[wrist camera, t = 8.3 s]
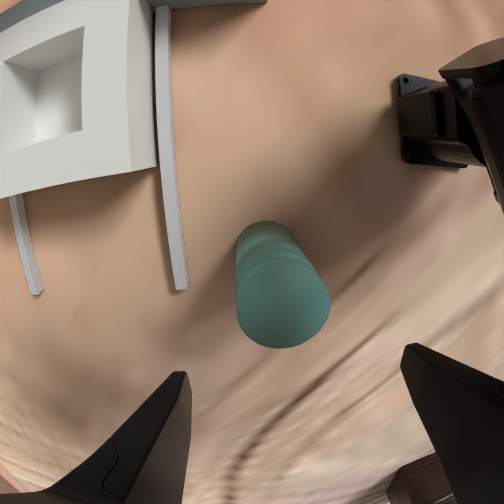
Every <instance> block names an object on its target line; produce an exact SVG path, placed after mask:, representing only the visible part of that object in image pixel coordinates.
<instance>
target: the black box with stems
mask: <svg viewBox="0 0 504 504" xmlns="http://www.w3.org/2000/svg"><path fill="white" fill-rule="evenodd" d="M386 494H387V496H388V499H389V501H390V503H391V504H457V502H456V500H455V497H454V496H455V495H454V494H453V492H452V489H451V487H450V484H449V482H448V479H447V477H446V475H445V472H444V470H443V467H442V465H441V463H440V460H439V458H438V456H437V454H436V453H433V454H431V455H428V456H426V457H423V458H421V459H418V460H416V461H414V462H411V463H409V464H407V465H404V466H402V467H401V468H400V469H399V471H398V472H397V474H396V475H395V477H394V479H393V480H392V482H391V484H390V486H389V487H388V489H387V491H386Z"/></svg>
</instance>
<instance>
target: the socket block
mask: <svg viewBox="0 0 504 504" xmlns="http://www.w3.org/2000/svg"><path fill="white" fill-rule="evenodd" d="M152 24H153V12H152V10H151V8H150V7H149V5H148V3H147V2H146V0H65V1H62V2H60V3H58V4H55V5H53V6H51V7H48V8H46V9H44V10H42V11H40V12H38V13H36V14H34V15H32V16H30V17H28V18H26V19H24V20H22V21H20V22H18V23H17V24H15V25H13V26H11V27H10V28H8V29H6V30H4V31H3V32H1V33H0V199H1V198H4V197H8V196H12V195H16V194H20V193H24V192H28V191H32V190H37V189H41V188H45V187H50V186H55V185H59V184H64V183H69V182H74V181H79V180H85V179H90V178H96V177H101V176H107V175H113V174H120V173H126V172H133V171H137V170H142V169H146V168H151V167H156V166H157V160H156V147H155V132H154V114H153V87H152Z"/></svg>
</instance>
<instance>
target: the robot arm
mask: <svg viewBox="0 0 504 504" xmlns="http://www.w3.org/2000/svg"><path fill="white" fill-rule="evenodd" d="M438 71H439V73H440V75H441V76H442V78H443V79H445V80H446V81H442V82H438V81H434V80H430V79H426V78H422V77H417V76H412V75H408V74H402V75H399V76H398V78H397V84H398V95H399V98H398V113H399V132H400V134H401V156H402V160H403V161H404V162H405V163H408V164H422V165H435V166H446V167H457V168H466V167H467V166H468V165H474V166H480V167H486V168H487V171H488V174H489V176H490V179H491V182H492V185H493V188H494V196H495V199H496V201H497V202H498V203H499V204H500V206H501V209H502V211H503V214H504V38H499V39H496V40H493V41H490V42H487V43H484V44H481V45H478V46H476V47H474V48H472V49H471V50H469V51H467V52H466V53H464V54H463V55H461V56H459V57H458V58H456V59H455V60H453V61H451V62H450V63H448V64H447V65H445V66H444V67H442V68H440V69H439V70H438ZM403 78H404V79H405V81H406V84H405V83H404V82H403ZM408 153H409V154H410V159H409V160H408V158H407V155H408ZM400 368H401V371H402V374H403V377H404V379H405V382H406V385H407V388H408V390H409V393H410V396H411V399H412V401H413V404H414V406H415V408H416V410H417V412H418V414H419V417H420V419H421V421H422V423H423V425H424V427H425V429H426V431H427V434H428V436H429V438H430V440H431V442H432V445H433V447H434V449H435V451H436V454H437V456H438V458H439V460H440V463H441V465H442V467H443V470H444V472H445V475H446V477H447V479H448V482H449V484H450V487H451V489H452V492H453V494H454V495H455V496H454V497H455V500H456V502H457V504H504V381H501V380H499V379H497V378H494V377H492V376H490V375H488V374H485V373H483V372H481V371H479V370H476V369H474V368H472V367H470V366H467V365H465V364H463V363H461V362H459V361H456V360H454V359H452V358H450V357H447V356H445V355H443V354H441V353H438V352H436V351H434V350H432V349H430V348H427V347H425V346H423V345H421V344H419V343H412V344H408V345H406V346H405V348H404V352H403V356H402V360H401V364H400ZM191 411H192V391H191V387H190V383H189V379H188V375H187V373H186V372H185V371H174V372H172V373H171V374H170V375H169V376H168V377H167V379H166V380H165V381H164V382H163V383H162V384H161V385H160V386H159V387H158V388H157V389H156V390H155V391H154V392H153V393H152V394H151V395H150V396H149V397H148V399H147V400H146V401H145V402H144V403H143V404H142V405H141V406H140V407H139V408H138V409H137V410H136V411H135V412H134V413H133V414H132V415H131V416H130V417H129V418H128V419H127V420H126V421H125V422H124V423H123V424H122V425H121V427H120V428H119V429H118V430H117V431H116V432H115V433H114V434H113V435H112V436H111V438H109V439H108V440H107V441H106V442H105V443H104V444H103V445H102V446H101V447H100V448H99V449H97V450H96V451H95V452H94V453H93V454H92V455H91V456H90V457H89V458H87V459H86V460H85V461H84V462H83V463H81V464H80V465H79V466H77V467H76V468H75V469H74V470H72V471H71V472H70V473H68V474H67V475H66V476H64V477H63V478H62V479H60V480H59V481H58V482H56V483H55V484H54V485H52V486H50V487H48V488H47V489H44V490H41V491H37V492H27V493H7V494H0V504H182V496H183V489H184V482H185V474H186V467H187V460H188V454H189V447H190V440H191Z"/></svg>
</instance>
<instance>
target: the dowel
mask: <svg viewBox="0 0 504 504" xmlns="http://www.w3.org/2000/svg"><path fill="white" fill-rule="evenodd" d="M235 261H236V299H237V318H238V322H239V325H240V327H241V329H242V330H243V332H244V333H245V334H246V335H247V336H248V337H249V338H250V339H251V340H253V341H254V342H256V343H258V344H260V345H262V346H265V347H270V348H289V347H293V346H297V345H299V344H302V343H304V342H306V341H307V340H309V339H310V338H312V337H313V336H314V335H316V334H317V332H318V331H319V330H320V329H321V328H322V327H323V325H324V323H325V322H326V320H327V317H328V314H329V310H330V297H329V293H328V290H327V288H326V286H325V284H324V283H323V281H322V280H321V278H320V277H319V275H318V274H317V272H316V271H315V269H314V268H313V266H312V265H311V263H310V262H309V260H308V259H307V257H306V256H305V254H304V253H303V251H302V250H301V248H300V247H299V245H298V244H297V242H296V241H295V239H294V238H293V236H292V235H291V233H290V232H289V231H288V230H287V229H286V228H285V227H284V226H282V225H280V224H278V223H276V222H272V221H261V222H257V223H254V224H252V225H250V226H248V227H247V228H246V229H245V230H244V231H243V232H242V233H241V234H240V236H239V238H238V240H237V243H236V247H235Z"/></svg>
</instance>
